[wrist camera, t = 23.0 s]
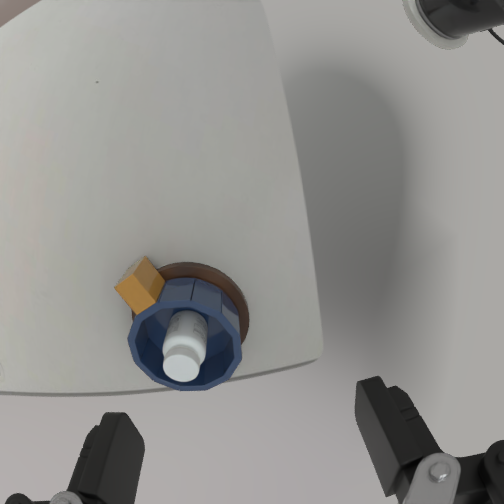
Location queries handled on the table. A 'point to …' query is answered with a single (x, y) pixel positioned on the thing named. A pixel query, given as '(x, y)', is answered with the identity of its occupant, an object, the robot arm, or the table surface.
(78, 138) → the table surface
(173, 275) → the turntable
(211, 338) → the serving bowl
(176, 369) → the pill bottle
